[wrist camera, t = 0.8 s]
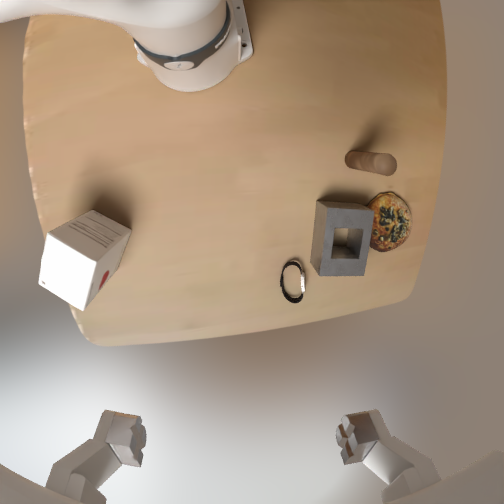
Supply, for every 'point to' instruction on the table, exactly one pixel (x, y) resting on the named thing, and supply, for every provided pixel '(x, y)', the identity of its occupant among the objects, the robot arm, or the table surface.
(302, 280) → the watch
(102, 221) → the supplement box
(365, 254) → the socket block
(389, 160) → the peg
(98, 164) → the table surface
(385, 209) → the bread roll
